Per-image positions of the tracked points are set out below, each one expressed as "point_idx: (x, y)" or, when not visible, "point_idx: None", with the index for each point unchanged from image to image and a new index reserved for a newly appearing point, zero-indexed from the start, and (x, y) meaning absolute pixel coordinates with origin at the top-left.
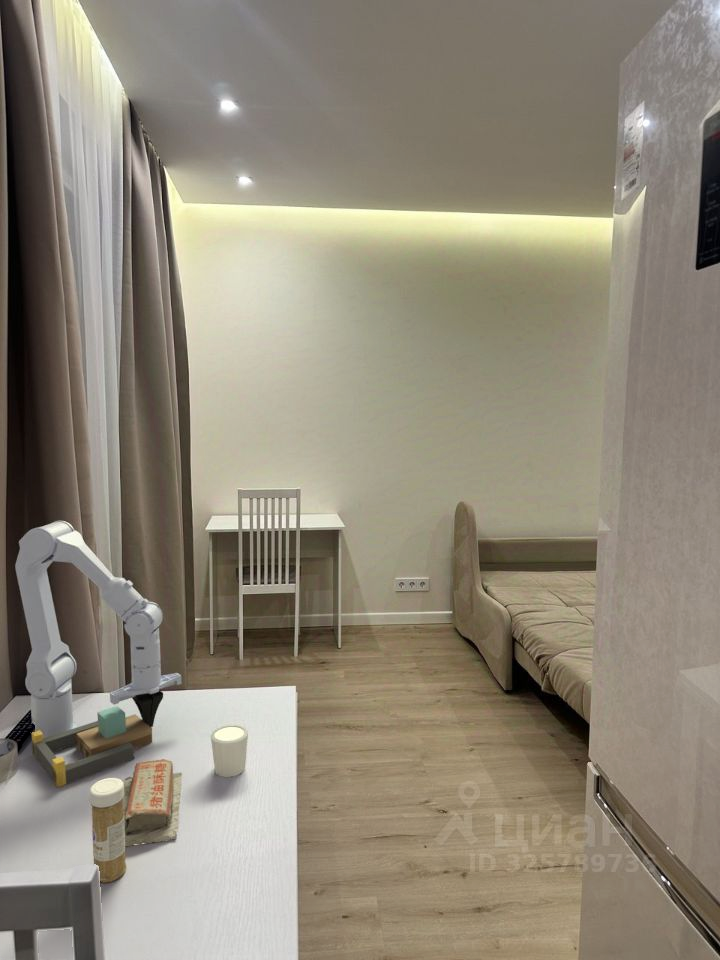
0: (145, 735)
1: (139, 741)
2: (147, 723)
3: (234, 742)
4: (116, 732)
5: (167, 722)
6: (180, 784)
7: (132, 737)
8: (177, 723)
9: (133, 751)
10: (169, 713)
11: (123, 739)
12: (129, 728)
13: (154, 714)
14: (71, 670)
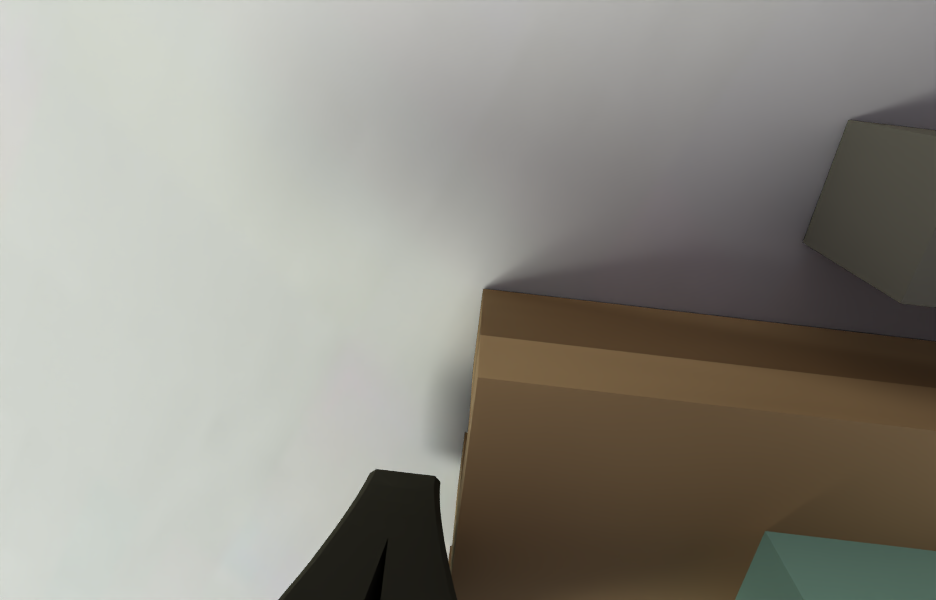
0: (567, 350)
1: (640, 334)
2: (436, 520)
3: None
4: (919, 577)
5: (185, 490)
6: None
7: (762, 388)
8: (110, 414)
9: (912, 135)
10: (113, 590)
11: (899, 414)
12: (676, 563)
13: (313, 585)
14: None
